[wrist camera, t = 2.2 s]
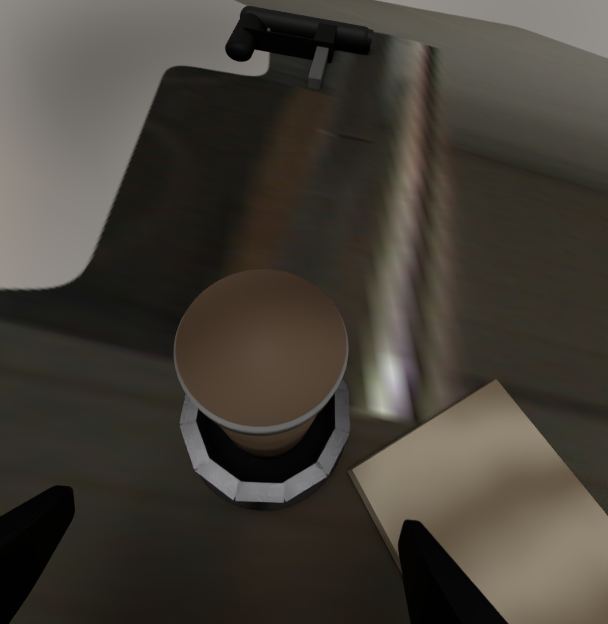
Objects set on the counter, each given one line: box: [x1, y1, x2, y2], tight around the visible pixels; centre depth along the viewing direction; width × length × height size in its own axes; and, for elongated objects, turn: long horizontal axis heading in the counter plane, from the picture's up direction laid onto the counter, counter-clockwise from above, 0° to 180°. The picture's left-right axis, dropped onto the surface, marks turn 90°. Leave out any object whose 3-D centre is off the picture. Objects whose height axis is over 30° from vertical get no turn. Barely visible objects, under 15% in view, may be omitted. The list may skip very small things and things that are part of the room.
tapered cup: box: [174, 269, 348, 460], centre depth 15 cm, size 5×5×12 cm
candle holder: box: [180, 378, 350, 510], centre depth 19 cm, size 10×10×4 cm
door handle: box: [225, 6, 373, 90], centre depth 45 cm, size 3×20×16 cm
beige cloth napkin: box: [347, 380, 608, 624], centre depth 18 cm, size 12×12×2 cm
